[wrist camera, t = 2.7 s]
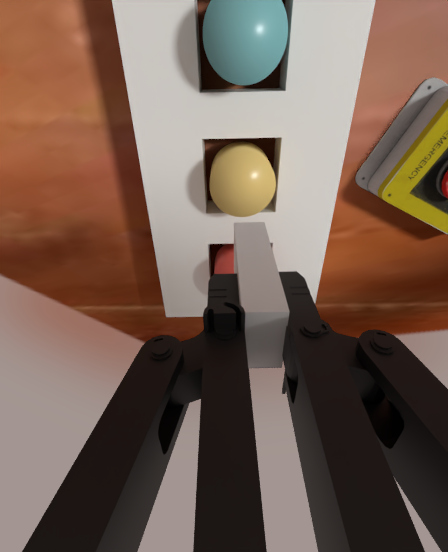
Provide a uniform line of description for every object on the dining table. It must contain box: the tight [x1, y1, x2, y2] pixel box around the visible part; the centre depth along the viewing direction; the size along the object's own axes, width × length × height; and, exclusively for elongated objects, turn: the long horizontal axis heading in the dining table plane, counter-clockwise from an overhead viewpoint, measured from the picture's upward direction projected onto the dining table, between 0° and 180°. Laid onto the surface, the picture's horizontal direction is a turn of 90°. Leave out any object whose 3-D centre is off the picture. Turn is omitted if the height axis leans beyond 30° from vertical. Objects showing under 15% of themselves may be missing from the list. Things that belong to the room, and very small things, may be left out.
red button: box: [214, 244, 234, 274], centre depth 30 cm, size 5×5×4 cm
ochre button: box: [210, 141, 276, 217], centre depth 25 cm, size 5×5×4 cm
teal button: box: [203, 0, 288, 85], centre depth 19 cm, size 5×5×4 cm
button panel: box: [112, 0, 375, 317], centre depth 26 cm, size 16×30×3 cm, turn 1°
